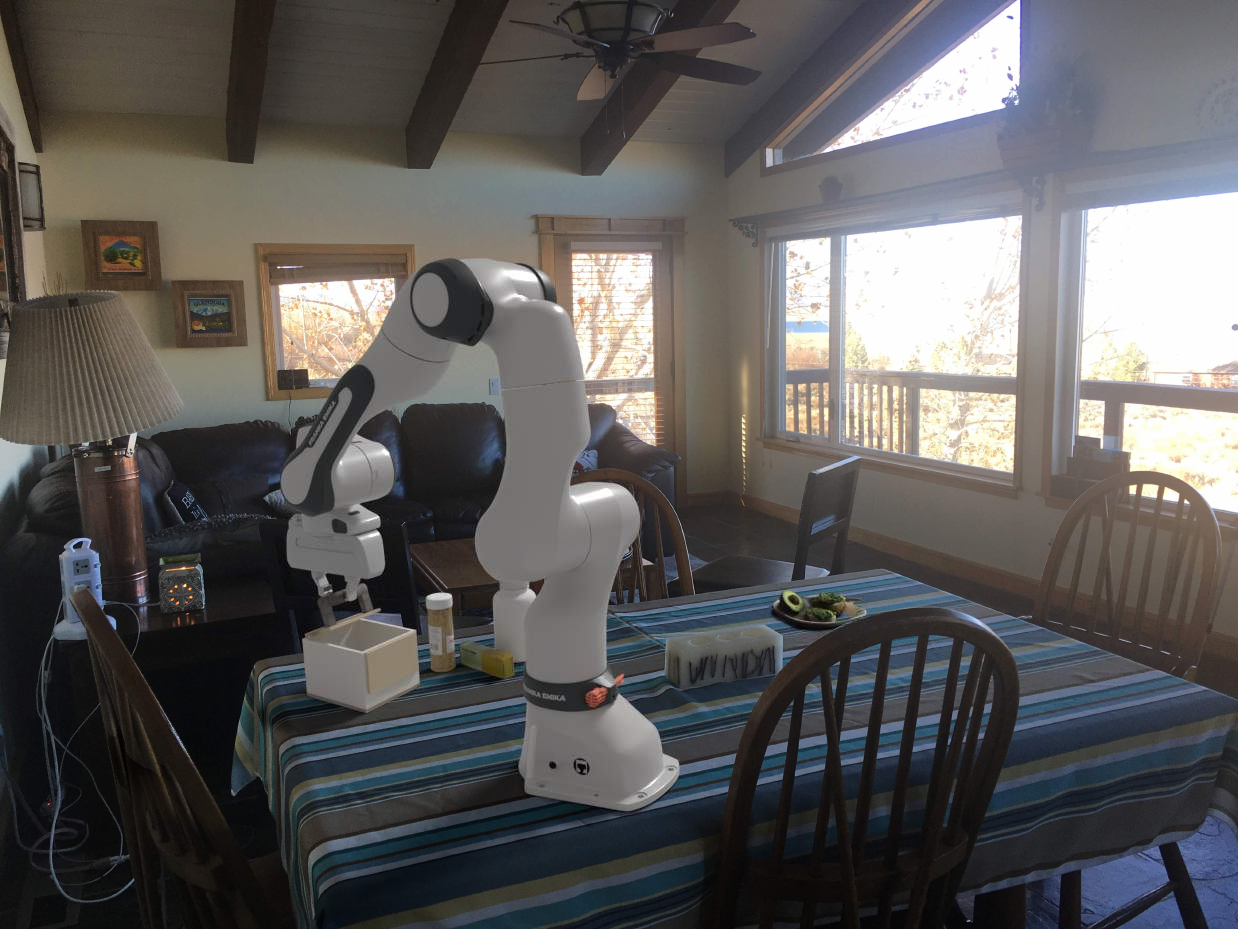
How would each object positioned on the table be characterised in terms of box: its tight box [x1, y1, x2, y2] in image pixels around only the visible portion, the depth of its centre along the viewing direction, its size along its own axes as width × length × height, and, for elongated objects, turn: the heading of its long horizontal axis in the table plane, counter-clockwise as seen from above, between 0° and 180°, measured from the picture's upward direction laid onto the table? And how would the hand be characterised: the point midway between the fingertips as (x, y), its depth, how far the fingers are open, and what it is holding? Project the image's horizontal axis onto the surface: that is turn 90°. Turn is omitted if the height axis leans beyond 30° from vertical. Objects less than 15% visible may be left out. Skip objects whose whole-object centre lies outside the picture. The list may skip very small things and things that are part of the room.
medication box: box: [458, 639, 515, 680], centre depth 164 cm, size 12×3×4 cm, turn 49°
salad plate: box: [771, 589, 868, 630], centre depth 189 cm, size 19×18×5 cm
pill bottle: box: [492, 581, 537, 663], centre depth 169 cm, size 8×8×15 cm
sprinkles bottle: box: [425, 592, 457, 673], centre depth 164 cm, size 5×5×14 cm
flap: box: [304, 583, 382, 638], centre depth 156 cm, size 7×11×6 cm, turn 147°
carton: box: [301, 618, 421, 714], centre depth 155 cm, size 15×12×10 cm
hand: (337, 597), depth 156 cm, fingers open, 4 cm apart
